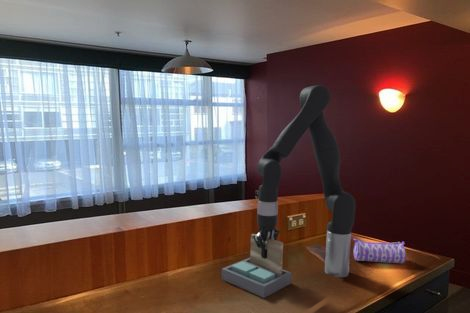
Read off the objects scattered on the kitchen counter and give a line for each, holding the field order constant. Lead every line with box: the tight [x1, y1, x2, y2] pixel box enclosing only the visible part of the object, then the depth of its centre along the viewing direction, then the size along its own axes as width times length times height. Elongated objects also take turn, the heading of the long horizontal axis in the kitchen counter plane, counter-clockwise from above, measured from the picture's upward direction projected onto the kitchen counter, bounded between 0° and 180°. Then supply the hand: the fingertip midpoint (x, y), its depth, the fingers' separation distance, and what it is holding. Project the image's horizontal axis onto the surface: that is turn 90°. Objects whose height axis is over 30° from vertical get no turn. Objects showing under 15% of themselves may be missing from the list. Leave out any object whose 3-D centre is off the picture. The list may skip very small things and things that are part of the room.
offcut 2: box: [249, 268, 275, 284], centre depth 133 cm, size 6×7×5 cm
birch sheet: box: [249, 233, 284, 275], centre depth 141 cm, size 2×14×14 cm, turn 47°
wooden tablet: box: [306, 244, 351, 267], centre depth 169 cm, size 26×2×10 cm
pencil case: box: [352, 238, 407, 264], centre depth 163 cm, size 22×9×10 cm, turn 89°
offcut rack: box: [221, 257, 293, 299], centre depth 138 cm, size 16×20×5 cm
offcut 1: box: [231, 260, 256, 278], centre depth 139 cm, size 6×7×5 cm
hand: (266, 257), depth 141 cm, fingers closed on birch sheet, 1 cm apart
